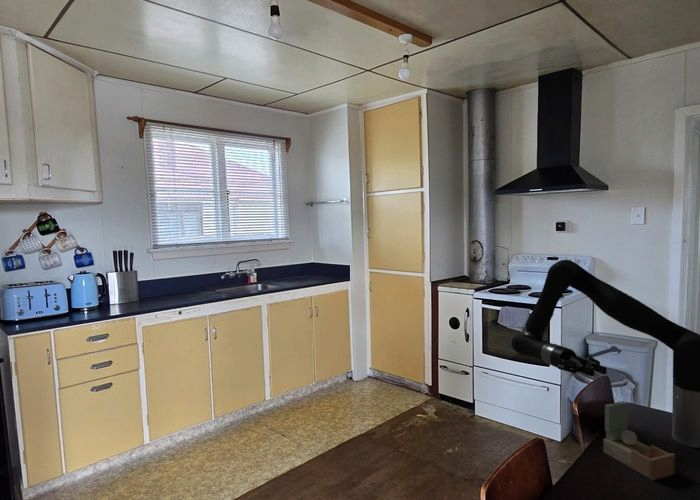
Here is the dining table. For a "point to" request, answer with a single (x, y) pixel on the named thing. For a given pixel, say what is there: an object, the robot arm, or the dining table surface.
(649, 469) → the cup
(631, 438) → the ball
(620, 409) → the green rectangular slab
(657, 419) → the dining table surface
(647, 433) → the dining table surface
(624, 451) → the beige open box
